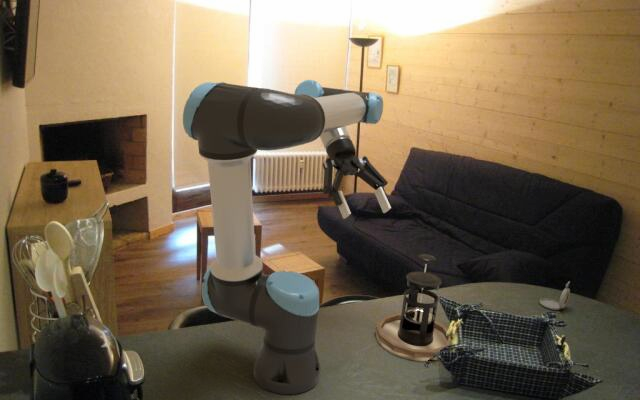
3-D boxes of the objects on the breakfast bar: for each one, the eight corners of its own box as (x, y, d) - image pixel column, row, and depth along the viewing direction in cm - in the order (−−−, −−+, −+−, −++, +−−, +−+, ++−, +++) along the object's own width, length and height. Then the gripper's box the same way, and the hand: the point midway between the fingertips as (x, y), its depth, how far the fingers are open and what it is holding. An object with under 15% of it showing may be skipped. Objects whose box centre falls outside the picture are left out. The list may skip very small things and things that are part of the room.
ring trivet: (413, 369, 126) (415, 360, 126) (360, 331, 142) (361, 323, 141) (467, 348, 138) (469, 340, 137) (413, 315, 153) (414, 307, 153)
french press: (439, 347, 135) (453, 264, 129) (404, 348, 134) (417, 264, 127) (423, 324, 146) (435, 247, 140) (391, 324, 145) (401, 246, 138)
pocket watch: (536, 299, 171) (543, 271, 169) (563, 303, 170) (570, 275, 168) (543, 311, 164) (550, 282, 161) (571, 315, 163) (578, 285, 160)
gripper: (365, 150, 153) (394, 214, 145) (293, 153, 138) (321, 225, 131) (380, 135, 147) (411, 201, 140) (306, 137, 133) (336, 211, 125)
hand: (367, 213), depth 135 cm, fingers open, 13 cm apart
